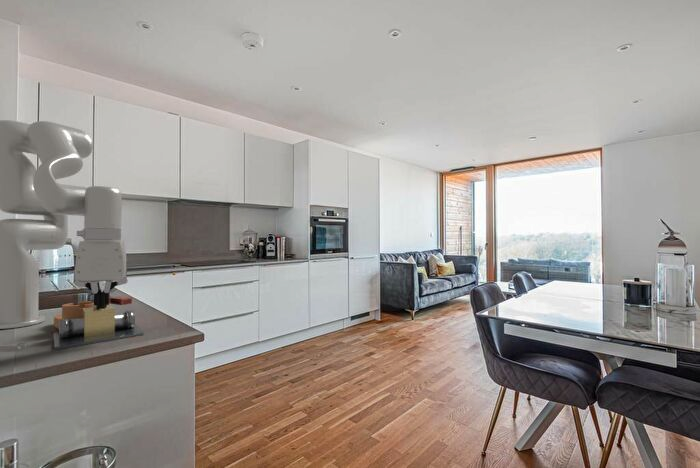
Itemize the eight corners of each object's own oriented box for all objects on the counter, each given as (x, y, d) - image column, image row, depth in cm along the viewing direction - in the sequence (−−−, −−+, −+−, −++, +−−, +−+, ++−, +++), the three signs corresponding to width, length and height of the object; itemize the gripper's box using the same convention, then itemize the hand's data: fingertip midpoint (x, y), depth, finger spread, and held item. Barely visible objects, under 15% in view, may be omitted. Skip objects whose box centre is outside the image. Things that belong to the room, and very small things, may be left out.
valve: (53, 335, 88) (53, 301, 88) (132, 323, 101) (133, 294, 101) (54, 349, 77) (55, 311, 77) (143, 334, 90) (144, 301, 90)
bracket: (103, 327, 94) (103, 302, 95) (65, 333, 88) (66, 307, 88) (85, 319, 106) (85, 297, 106) (51, 324, 99) (51, 301, 99)
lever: (87, 300, 89) (87, 295, 89) (102, 298, 92) (102, 293, 92) (119, 305, 83) (119, 299, 83) (133, 303, 87) (133, 297, 87)
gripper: (60, 235, 77) (58, 314, 77) (136, 236, 84) (134, 308, 84) (69, 235, 84) (68, 307, 84) (139, 236, 91) (138, 303, 90)
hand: (101, 308), depth 84 cm, fingers closed
